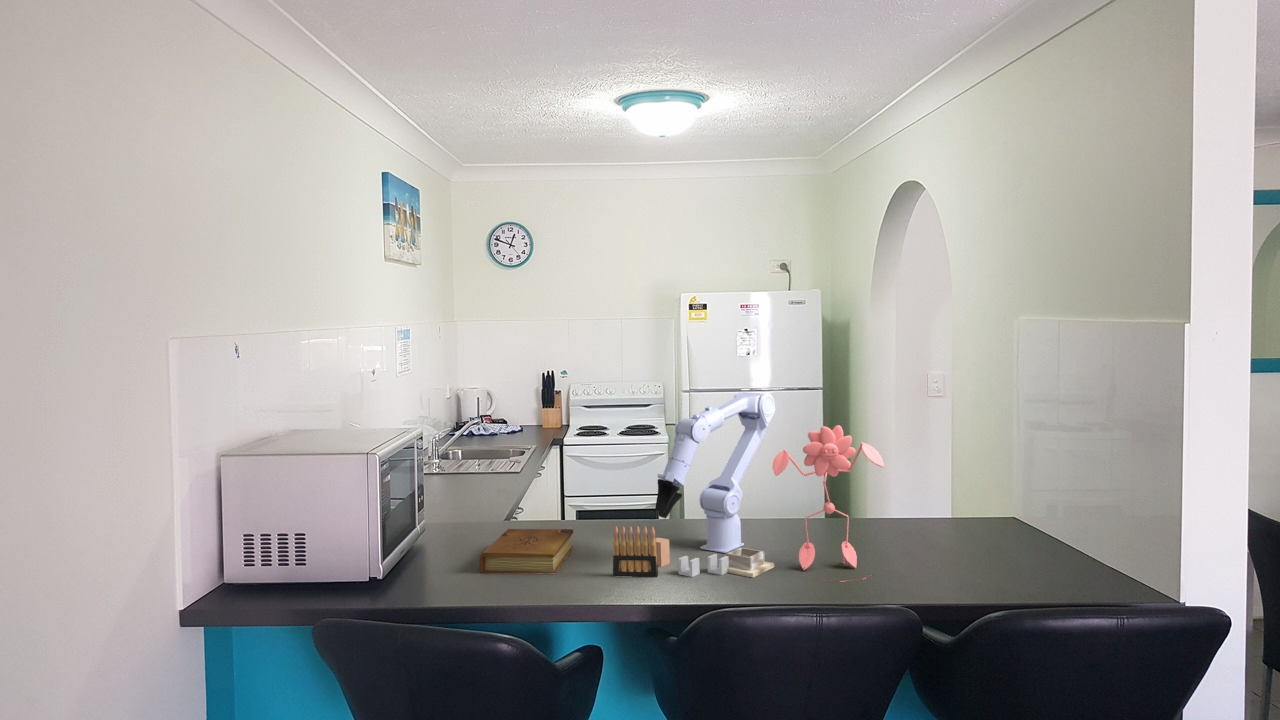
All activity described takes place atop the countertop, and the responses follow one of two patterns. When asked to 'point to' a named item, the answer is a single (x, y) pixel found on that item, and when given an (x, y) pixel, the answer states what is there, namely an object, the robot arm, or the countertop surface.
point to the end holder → (747, 562)
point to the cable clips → (694, 569)
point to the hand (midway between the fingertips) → (660, 514)
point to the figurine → (831, 458)
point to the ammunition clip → (635, 554)
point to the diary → (527, 551)
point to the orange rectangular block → (662, 551)
